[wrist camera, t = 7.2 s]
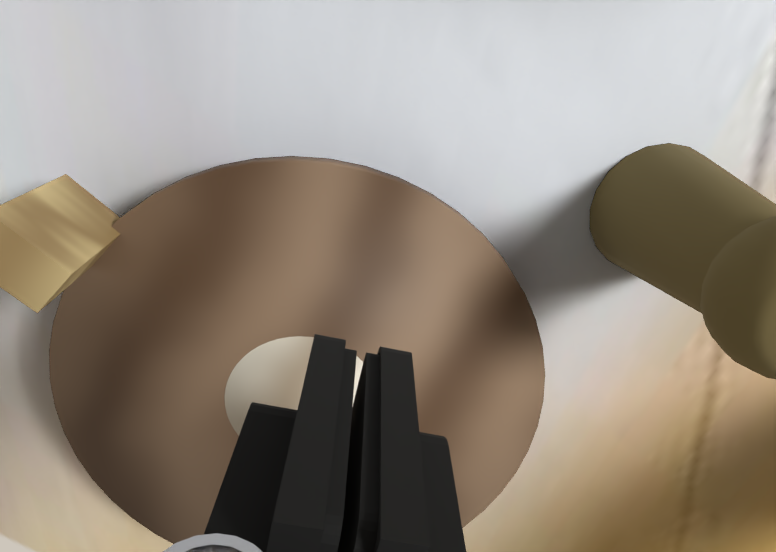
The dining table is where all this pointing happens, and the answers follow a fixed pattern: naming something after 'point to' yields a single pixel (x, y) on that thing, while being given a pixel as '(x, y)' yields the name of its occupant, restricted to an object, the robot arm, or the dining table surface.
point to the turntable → (265, 321)
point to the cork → (695, 243)
